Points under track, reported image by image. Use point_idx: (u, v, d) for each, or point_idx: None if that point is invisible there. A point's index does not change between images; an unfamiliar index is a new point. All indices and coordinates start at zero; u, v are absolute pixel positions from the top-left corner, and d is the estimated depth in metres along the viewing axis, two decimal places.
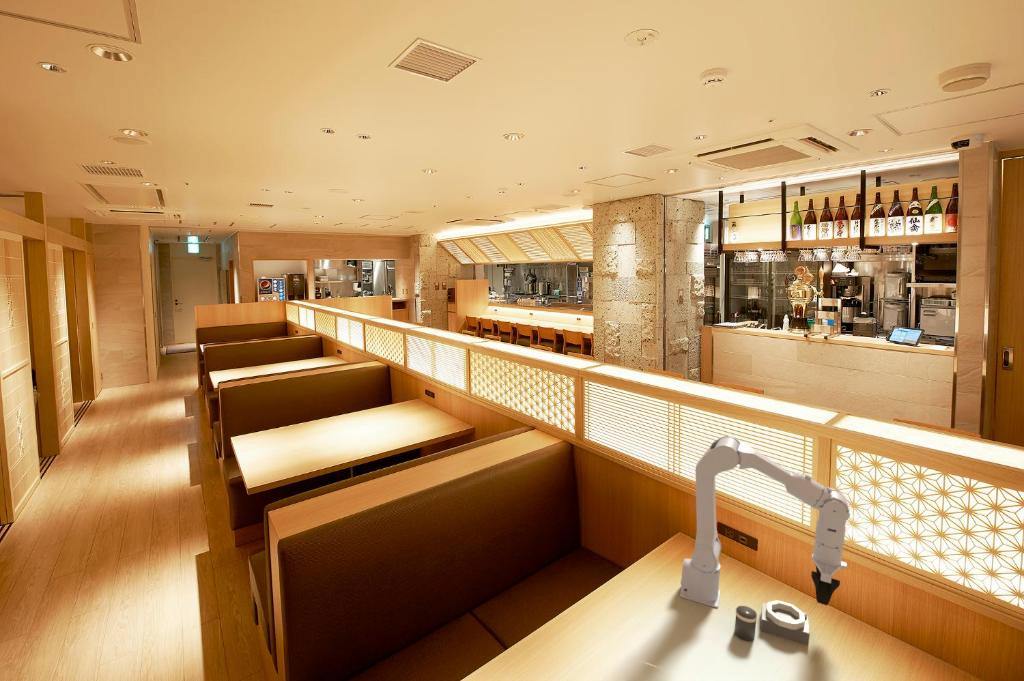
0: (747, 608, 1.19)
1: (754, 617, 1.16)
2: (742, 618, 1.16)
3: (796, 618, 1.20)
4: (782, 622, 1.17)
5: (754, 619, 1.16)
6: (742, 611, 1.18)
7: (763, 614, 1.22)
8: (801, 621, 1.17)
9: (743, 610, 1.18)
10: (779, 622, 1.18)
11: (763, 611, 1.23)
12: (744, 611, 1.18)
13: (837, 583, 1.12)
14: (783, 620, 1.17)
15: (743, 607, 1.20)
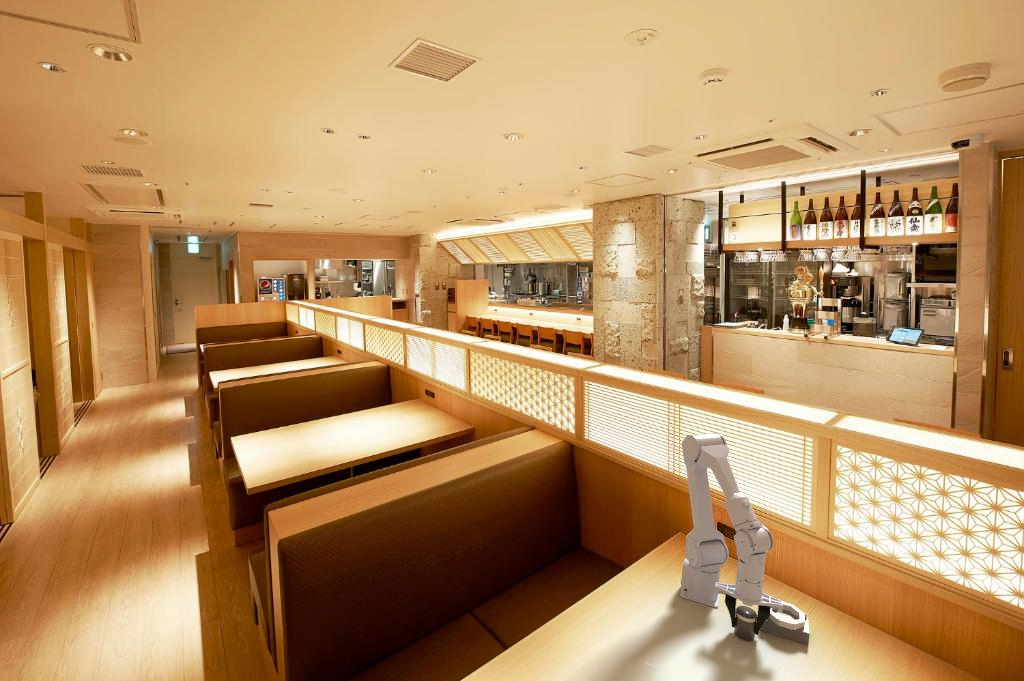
0: (747, 608, 1.19)
1: (754, 617, 1.16)
2: (742, 618, 1.16)
3: (796, 618, 1.20)
4: (782, 622, 1.17)
5: (754, 619, 1.16)
6: (742, 611, 1.18)
7: None
8: (801, 621, 1.17)
9: (743, 610, 1.18)
10: (779, 622, 1.18)
11: None
12: (744, 611, 1.18)
13: (727, 602, 1.17)
14: (783, 620, 1.17)
15: (743, 607, 1.20)
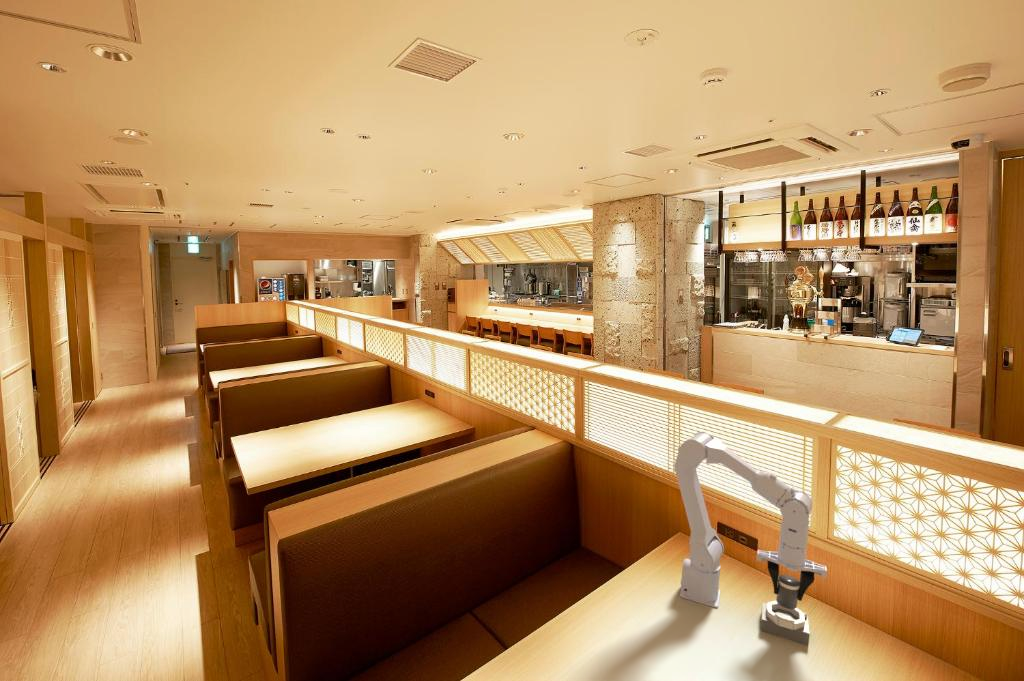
0: (790, 577, 1.20)
1: (797, 585, 1.17)
2: (785, 586, 1.18)
3: (796, 618, 1.20)
4: (782, 622, 1.17)
5: (797, 587, 1.17)
6: (785, 579, 1.19)
7: (763, 614, 1.22)
8: (801, 621, 1.17)
9: (786, 578, 1.20)
10: (779, 622, 1.18)
11: (763, 611, 1.23)
12: (787, 579, 1.19)
13: (770, 568, 1.19)
14: (783, 620, 1.17)
15: (786, 576, 1.21)
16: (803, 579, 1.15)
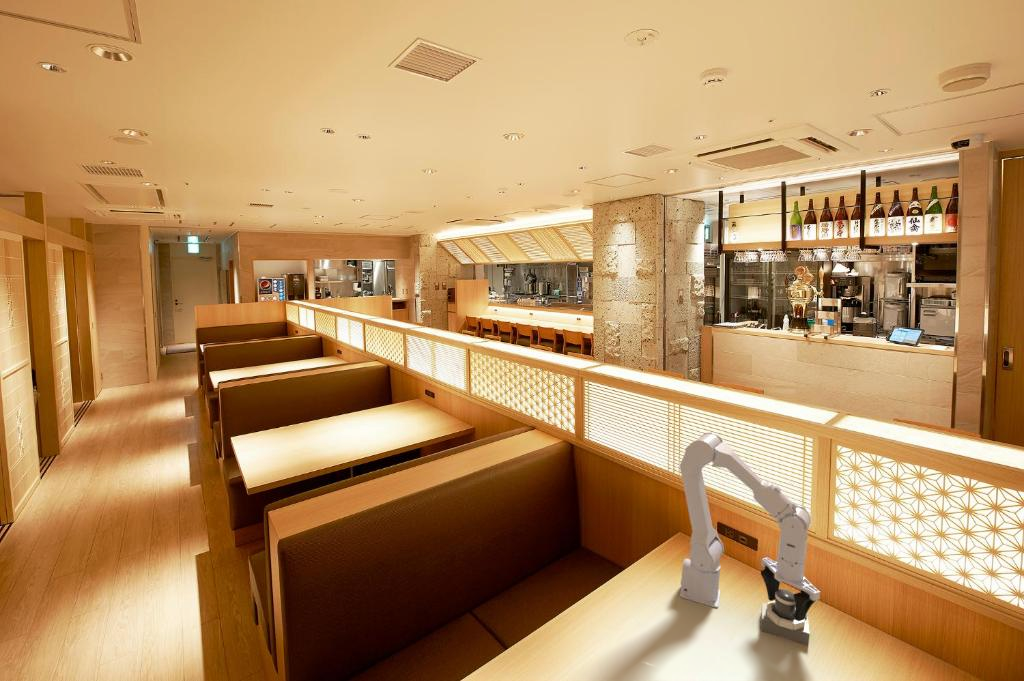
0: (791, 594, 1.20)
1: (788, 600, 1.18)
2: (776, 597, 1.20)
3: None
4: (782, 622, 1.17)
5: (787, 602, 1.18)
6: (782, 593, 1.20)
7: (763, 614, 1.22)
8: (801, 621, 1.17)
9: (784, 593, 1.20)
10: (779, 622, 1.18)
11: (763, 611, 1.23)
12: (784, 594, 1.20)
13: (762, 572, 1.24)
14: (783, 620, 1.17)
15: (788, 592, 1.21)
16: (794, 597, 1.15)
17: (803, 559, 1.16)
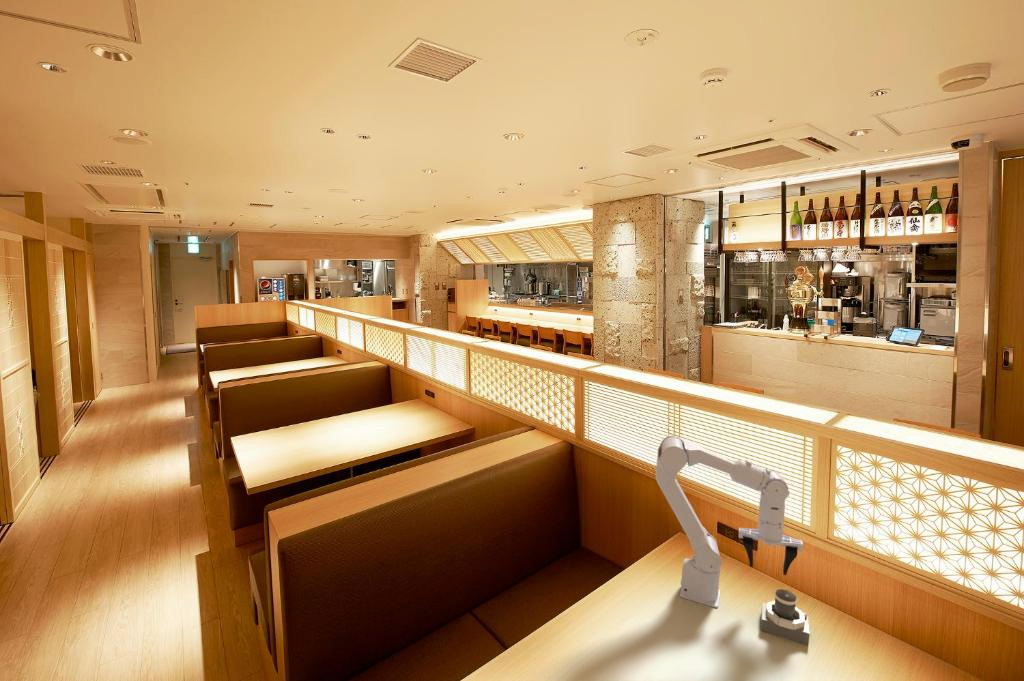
0: (791, 594, 1.20)
1: (788, 600, 1.18)
2: (776, 597, 1.20)
3: (796, 618, 1.20)
4: (782, 622, 1.17)
5: (787, 602, 1.18)
6: (782, 593, 1.20)
7: (763, 614, 1.22)
8: (801, 621, 1.17)
9: (784, 593, 1.20)
10: (779, 622, 1.18)
11: (763, 611, 1.23)
12: (784, 593, 1.20)
13: (745, 543, 1.27)
14: (783, 620, 1.17)
15: (788, 592, 1.21)
16: (787, 554, 1.23)
17: (783, 518, 1.24)
